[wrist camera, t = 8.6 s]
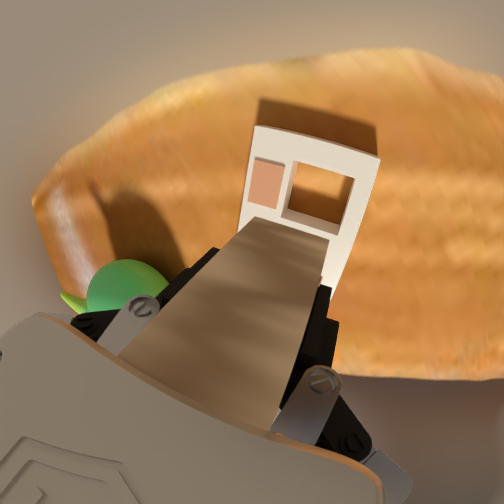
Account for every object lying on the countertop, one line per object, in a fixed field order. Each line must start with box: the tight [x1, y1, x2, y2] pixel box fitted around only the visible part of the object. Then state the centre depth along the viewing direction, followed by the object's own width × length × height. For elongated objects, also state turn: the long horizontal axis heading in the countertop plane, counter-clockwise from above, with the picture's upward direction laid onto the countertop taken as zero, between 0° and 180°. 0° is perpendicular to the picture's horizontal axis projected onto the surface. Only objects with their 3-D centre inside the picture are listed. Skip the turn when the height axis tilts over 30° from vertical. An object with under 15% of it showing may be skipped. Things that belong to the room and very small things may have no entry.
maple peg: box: [117, 216, 330, 431], centre depth 10 cm, size 4×4×11 cm
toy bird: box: [60, 259, 169, 314], centre depth 38 cm, size 18×17×15 cm
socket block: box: [238, 125, 381, 300], centre depth 29 cm, size 12×22×3 cm, turn 170°
